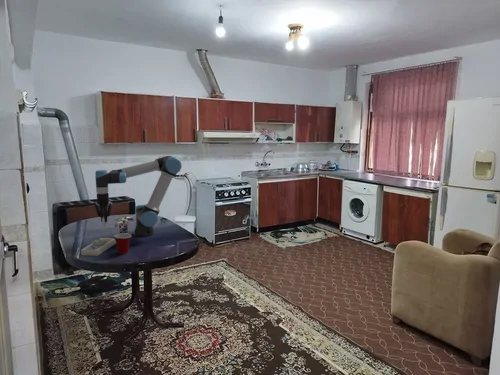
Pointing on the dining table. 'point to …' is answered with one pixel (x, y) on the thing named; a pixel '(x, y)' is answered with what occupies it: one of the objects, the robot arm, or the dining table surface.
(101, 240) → the tile two
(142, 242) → the dining table surface
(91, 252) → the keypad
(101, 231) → the dining table surface
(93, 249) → the tile three
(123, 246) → the plastic cup
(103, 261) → the dining table surface
